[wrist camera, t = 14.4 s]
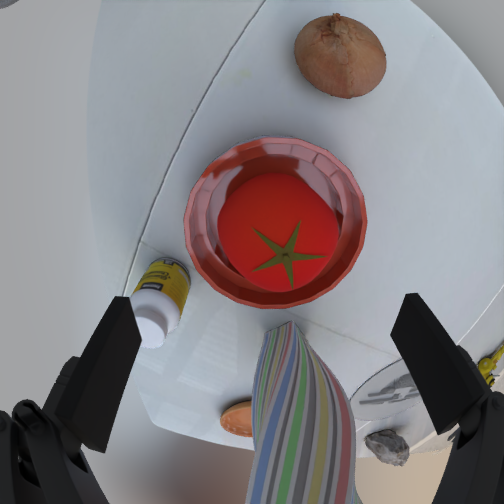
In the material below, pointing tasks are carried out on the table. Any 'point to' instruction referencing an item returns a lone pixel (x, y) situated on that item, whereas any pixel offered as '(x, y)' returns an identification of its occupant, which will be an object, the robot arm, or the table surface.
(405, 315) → the robot arm
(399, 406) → the plate
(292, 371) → the vase
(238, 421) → the saucer
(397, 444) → the rock
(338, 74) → the onion
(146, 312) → the pill bottle
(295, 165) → the red bowl
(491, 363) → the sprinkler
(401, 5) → the table surface
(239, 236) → the tomato
